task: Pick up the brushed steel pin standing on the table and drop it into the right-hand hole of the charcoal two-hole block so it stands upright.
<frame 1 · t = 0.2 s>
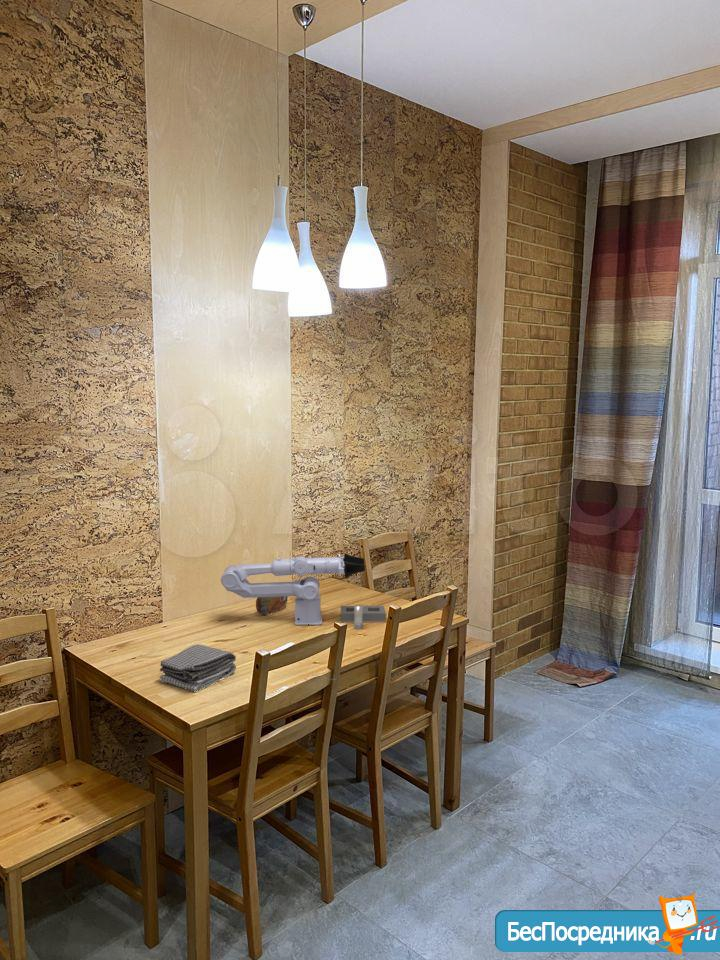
hand: (364, 564, 271), 21 cm above the table, tool horizontal, fingers open, 7 cm apart
towel: (197, 678, 223), on the table
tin: (271, 612, 284), on the table
pin: (358, 627, 267), on the table
hole block: (362, 618, 277), on the table
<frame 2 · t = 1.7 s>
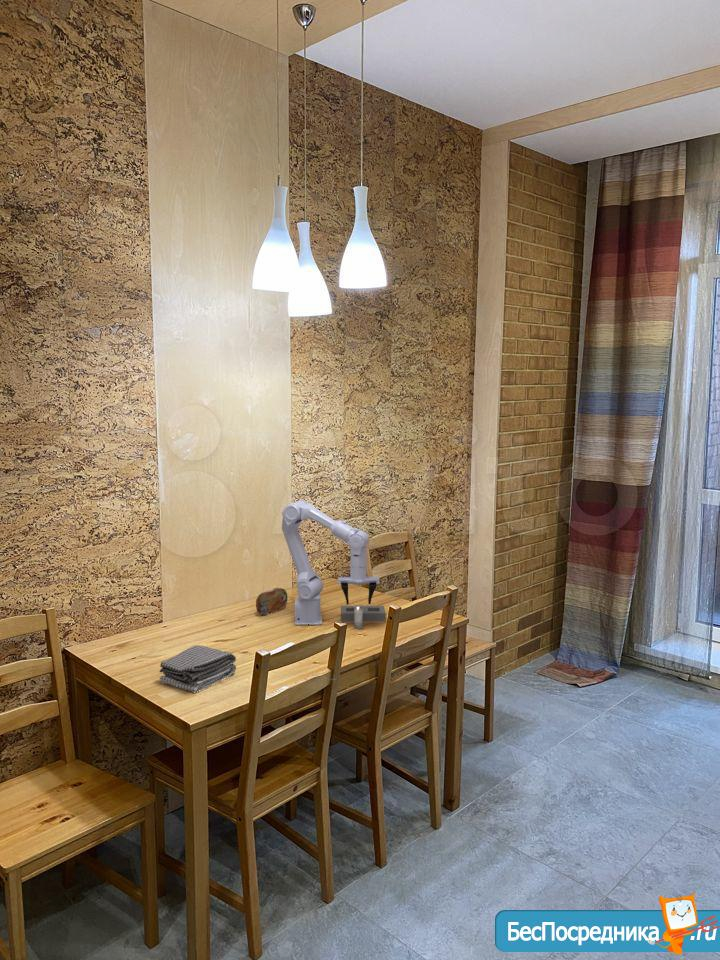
hand: (358, 603, 266), 9 cm above the table, tool pointing down, fingers open, 7 cm apart
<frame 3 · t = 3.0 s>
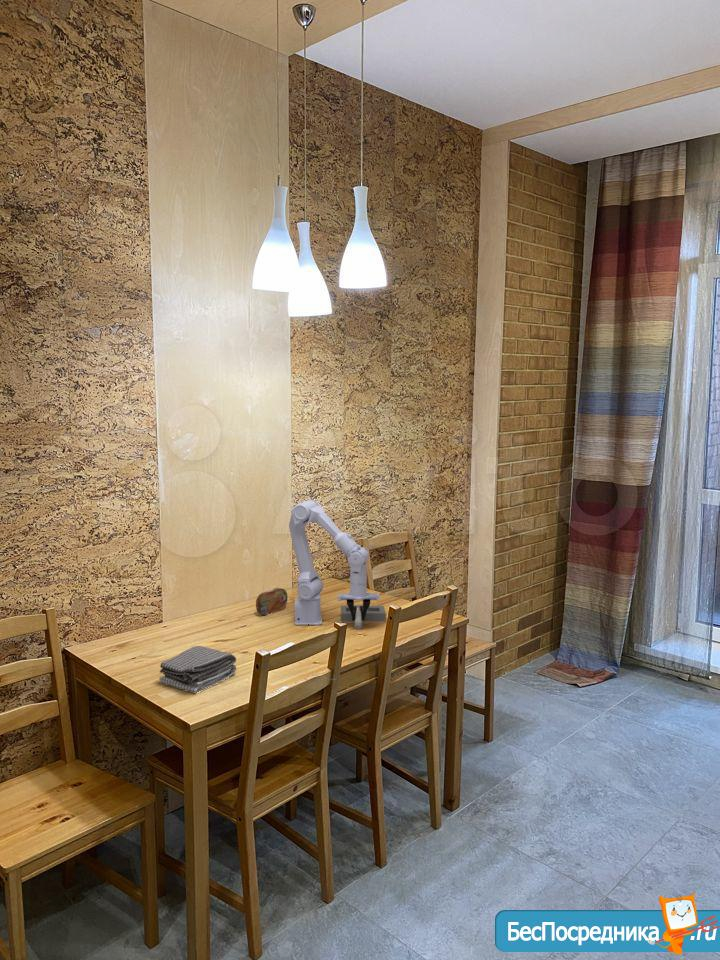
hand: (358, 620, 266), 3 cm above the table, tool pointing down, fingers closed on pin, 3 cm apart
pin: (358, 627, 267), on the table, touching gripper
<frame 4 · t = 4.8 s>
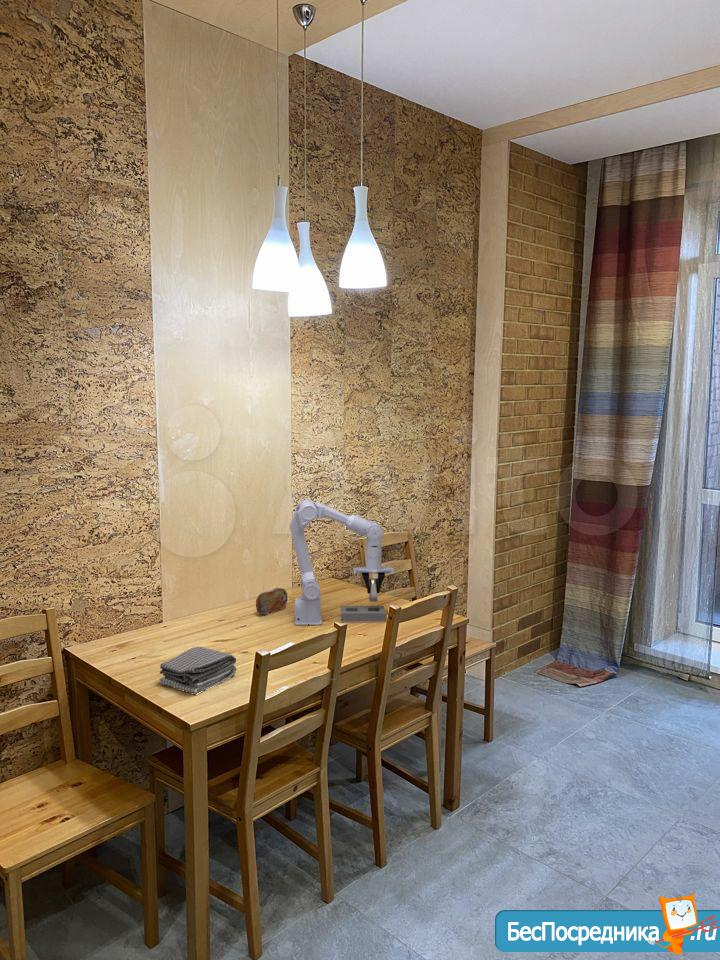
hand: (373, 592, 275), 10 cm above the table, tool pointing down, fingers closed on pin, 3 cm apart
pin: (373, 600, 275), point 7 cm above the table, touching gripper
when the fingers open (4 cm above the table, at t = 6.6 s): pin stays where it is, resting on hole block.
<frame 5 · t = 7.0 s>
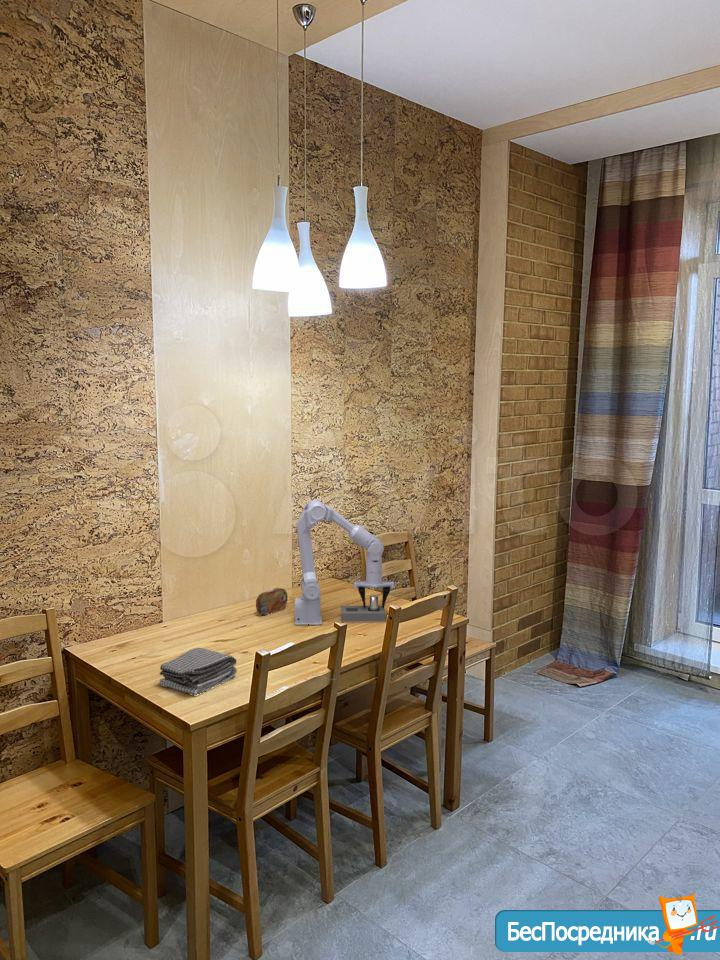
hand: (373, 607, 276), 4 cm above the table, tool pointing down, fingers open, 6 cm apart
pin: (373, 617, 277), point 1 cm above the table, touching hole block
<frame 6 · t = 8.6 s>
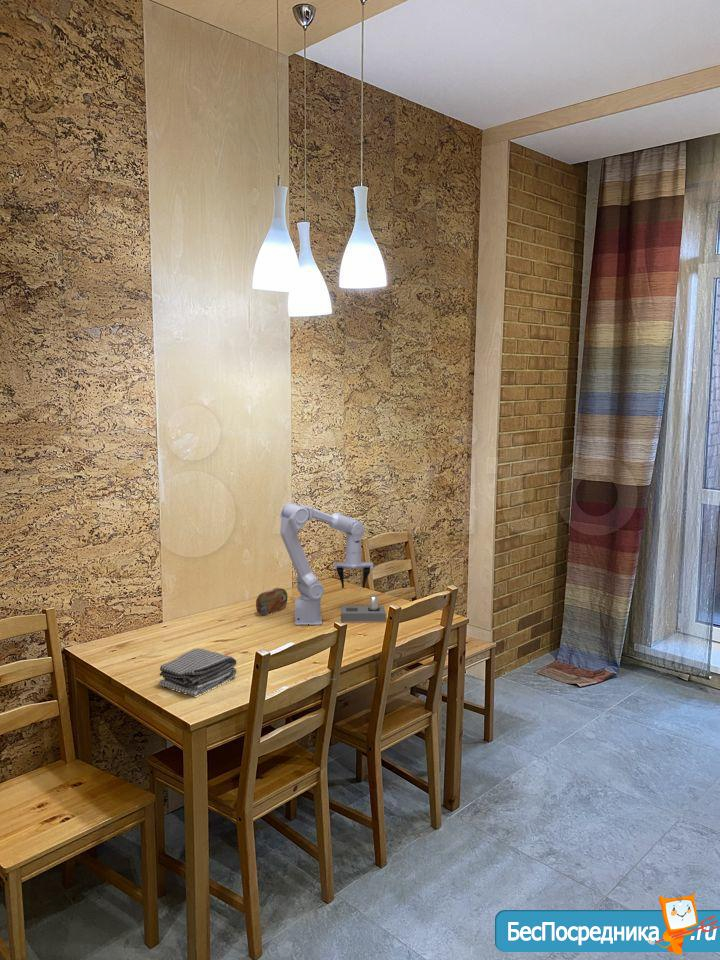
hand: (353, 587, 281), 10 cm above the table, tool pointing down, fingers open, 7 cm apart
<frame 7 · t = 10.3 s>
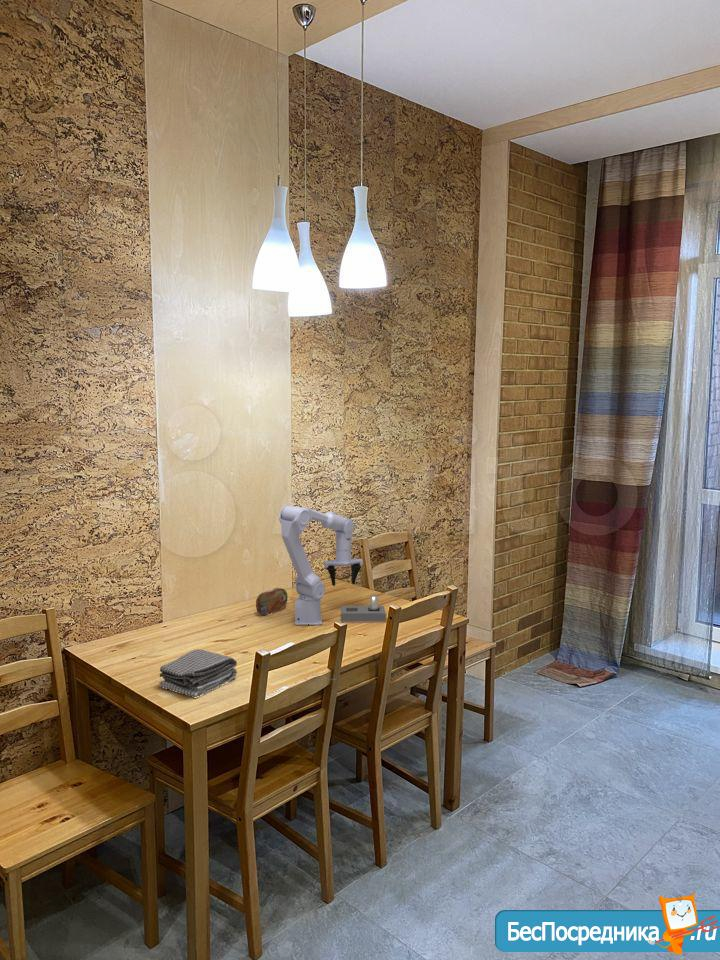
hand: (343, 584, 284), 10 cm above the table, tool pointing down, fingers open, 7 cm apart
at the end: pin 0.1 cm from the target spot on the hole block, point 0.5 cm above the hole block's base; pin tilted 1°; the gripper is holding nothing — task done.
